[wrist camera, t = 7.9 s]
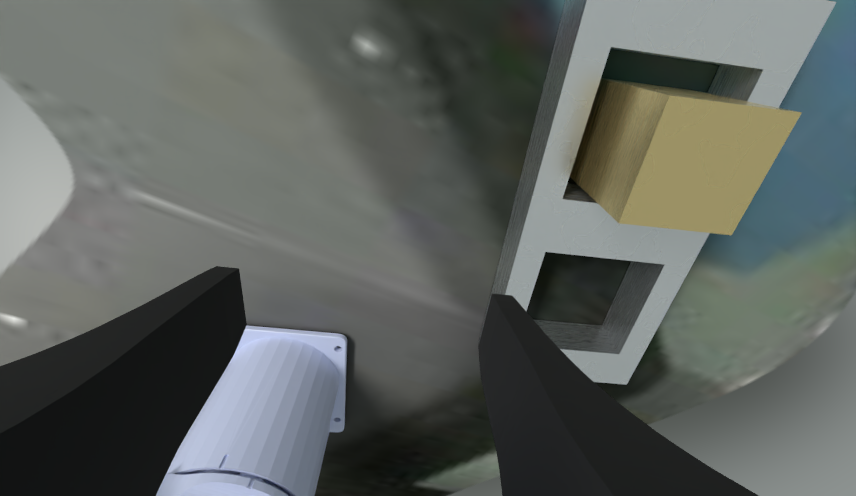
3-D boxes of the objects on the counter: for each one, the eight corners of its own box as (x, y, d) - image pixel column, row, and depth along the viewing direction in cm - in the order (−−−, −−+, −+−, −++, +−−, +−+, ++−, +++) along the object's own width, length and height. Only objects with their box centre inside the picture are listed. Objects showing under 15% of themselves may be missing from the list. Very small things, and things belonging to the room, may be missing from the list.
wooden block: (649, 182, 20) (731, 235, 14) (565, 172, 19) (618, 223, 14) (688, 89, 18) (801, 112, 12) (594, 77, 17) (669, 95, 12)
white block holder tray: (609, 354, 26) (626, 384, 23) (478, 343, 25) (483, 372, 23) (779, 6, 16) (836, 1, 14) (572, -27, 15) (596, -37, 13)
